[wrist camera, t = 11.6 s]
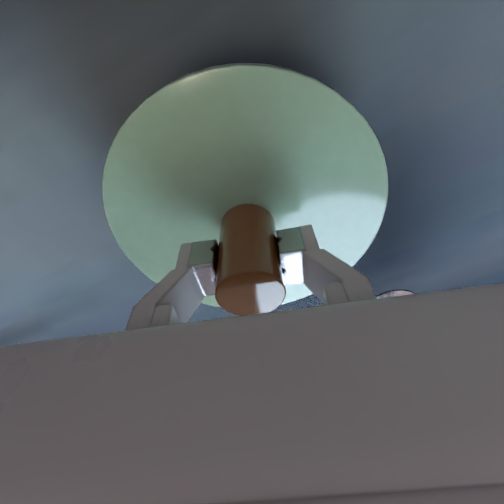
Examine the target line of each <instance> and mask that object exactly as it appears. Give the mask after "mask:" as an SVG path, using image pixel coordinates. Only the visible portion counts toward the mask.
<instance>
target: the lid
mask: <svg viewBox="0 0 504 504" xmlns="http://www.w3.org/2000/svg"><path fill="white" fill-rule="evenodd" d="M388 189H389V188H388V171H387V166H386V162H385V157H384V154H383V151H382V149H381V146H380V144H379V141H378V139H377V137H376V135H375V133H374V132H373V130H372V129H371V127H370V125H369V124H368V122H367V121H366V119H365V118H364V117H363V116H362V115H361V114H360V113H359V112H358V110H357V109H356V108H355V107H354V106H353V105H352V104H351V103H350V102H349V101H348V100H346V99H345V98H344V97H343V96H341V95H340V94H339V93H338V92H336V91H335V90H334V89H333V88H331V87H329V86H328V85H326V84H324V83H322V82H320V81H319V80H317V79H315V78H313V77H311V76H309V75H306V74H303V73H300V72H298V71H295V70H292V69H289V68H284V67H279V66H274V65H269V64H259V63H234V64H225V65H217V66H212V67H209V68H205V69H201V70H198V71H194V72H191V73H189V74H186V75H184V76H182V77H180V78H178V79H176V80H174V81H171V82H169V83H168V84H166V85H165V86H163V87H162V88H160V89H159V90H157V91H156V92H154V93H153V94H151V95H150V96H149V97H148V98H147V99H146V100H145V101H144V102H143V103H141V104H140V105H139V106H138V107H137V108H136V109H135V110H134V111H133V112H132V113H131V114H130V116H129V117H128V118H127V120H126V121H125V123H124V124H123V125H122V127H121V128H120V129H119V131H118V132H117V134H116V136H115V138H114V140H113V142H112V144H111V146H110V149H109V151H108V155H107V158H106V162H105V165H104V171H103V179H102V197H103V205H104V210H105V215H106V219H107V221H108V224H109V227H110V229H111V232H112V234H113V236H114V238H115V240H116V241H117V243H118V245H119V247H120V248H121V249H122V251H123V252H124V254H125V255H126V256H127V258H128V259H129V260H130V261H131V262H132V263H133V264H134V265H135V266H136V267H137V268H138V269H139V270H140V271H141V272H142V273H143V274H145V275H146V276H147V277H148V278H149V279H151V280H152V281H154V282H155V283H157V284H158V283H159V282H160V281H161V280H162V279H163V278H164V277H165V276H166V275H167V274H168V273H169V272H170V271H171V270H175V267H176V263H177V258H178V254H179V250H180V246H181V245H182V244H183V243H191V242H197V241H205V240H213V239H216V240H217V242H218V257H217V270H216V282H215V295H212V296H205V297H204V299H203V300H202V302H201V303H202V304H206V305H210V306H216V307H221V308H223V309H224V310H225V311H227V312H229V313H231V314H234V315H238V316H244V315H251V314H259V313H267V312H272V311H273V310H275V309H276V308H278V307H279V306H280V305H282V304H286V303H290V302H293V301H296V300H299V299H302V298H305V297H307V296H309V295H311V294H313V293H312V292H311V291H310V290H309V289H308V288H307V287H306V286H305V285H304V283H303V284H294V285H285V281H284V275H283V269H282V267H281V261H280V255H279V248H278V242H277V235H276V230H281V229H288V228H294V227H299V226H304V225H310V224H311V225H312V227H313V230H314V233H315V236H316V239H317V242H318V245H319V248H320V249H324V250H326V251H328V252H329V253H331V254H332V255H334V256H335V257H337V258H339V259H340V260H342V261H343V262H345V263H346V264H348V265H349V266H351V267H353V266H354V265H355V264H356V263H357V262H358V261H359V260H360V259H361V257H362V256H363V255H364V253H365V252H366V251H367V249H368V248H369V247H370V245H371V243H372V242H373V240H374V238H375V237H376V235H377V233H378V230H379V228H380V226H381V223H382V221H383V217H384V214H385V210H386V206H387V198H388Z"/></svg>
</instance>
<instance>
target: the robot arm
mask: <svg viewBox="0 0 504 504" xmlns="http://www.w3.org/2000/svg"><path fill="white" fill-rule="evenodd" d="M276 235H277V242H278V248H279V255H280V261H281V267H282V269H283V275H284V281H285V285H294V284H303V283H304V285H305V286H306V287H307V288H308V289H309V290H310V291H311V292H312V293H313V294H315V295H316V296H317V297H318V298H319V299H320V300H321V301H322V302H323V306H316V307H307V308H299V309H291V310H283V311H275V312H267V313H259V314H251V315H244V316H236V317H228V318H220V319H212V320H204V321H196V322H188V320H189V319H190V317H191V316H192V315H193V313H194V312H195V310H196V309H197V307H198V306H199V304H200V303H201V302H202V300H203V299H204V297H205V296H212V295H215V282H216V270H217V257H218V242H217V240H216V239H213V240H205V241H197V242H191V243H183V244H182V245H181V246H180V250H179V254H178V258H177V263H176V267H175V270H171V271H170V272H169V273H168V274H167V275H166V276H165V277H164V278H163V279H162V280H161V281H160V282H159V283H158V284H157V285H156V286H155V287H154V288H153V289H152V290H151V291H150V292H149V293H147V294H146V295H145V296H144V297H143V298H142V299H141V300H140V301H139V302H138V303H137V304H136V305H135V306H134V307H133V309H132V312H131V315H130V318H129V321H128V323H127V326H126V329H125V331H117V332H109V333H101V334H93V335H85V336H77V337H69V338H61V339H53V340H45V341H37V342H29V343H21V344H13V345H5V346H0V504H504V283H497V284H490V285H482V286H474V287H466V288H458V289H450V290H442V291H434V292H426V293H418V294H410V295H402V296H394V297H386V298H378V299H377V297H376V295H375V293H374V291H373V289H372V287H371V284H370V282H369V280H368V278H367V276H365V275H363V274H362V273H360V272H359V271H357V270H356V269H354V268H353V267H351V266H349V265H348V264H346V263H345V262H343V261H342V260H340V259H339V258H337V257H335V256H334V255H332V254H331V253H329V252H328V251H326V250H324V249H320V248H319V245H318V242H317V239H316V236H315V233H314V230H313V227H312V225H311V224H310V225H304V226H299V227H294V228H288V229H281V230H276ZM187 322H188V323H187Z"/></svg>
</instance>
